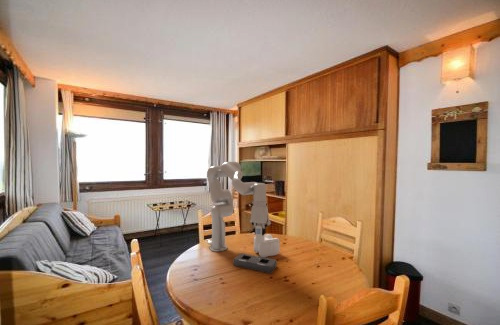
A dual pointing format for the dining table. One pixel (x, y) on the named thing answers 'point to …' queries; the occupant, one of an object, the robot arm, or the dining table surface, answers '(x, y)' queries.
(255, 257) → the jack panel
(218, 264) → the dining table surface
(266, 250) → the cable organizer
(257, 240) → the plug
